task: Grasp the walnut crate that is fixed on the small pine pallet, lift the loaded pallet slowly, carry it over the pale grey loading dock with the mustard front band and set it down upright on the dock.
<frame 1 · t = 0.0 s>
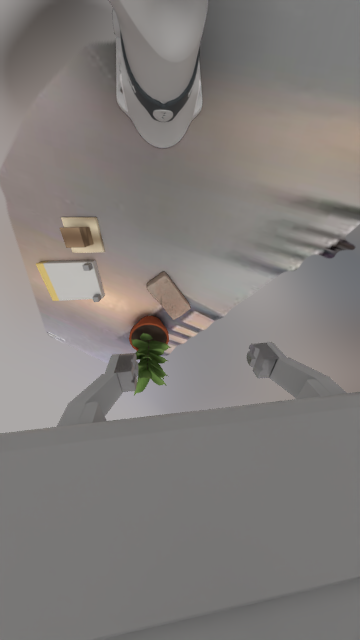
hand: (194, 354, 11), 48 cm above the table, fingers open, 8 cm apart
potted plant: (151, 326, 67), on the table
dock: (75, 279, 53), on the table
pallet: (85, 235, 47), on the table
brick: (168, 294, 60), on the table
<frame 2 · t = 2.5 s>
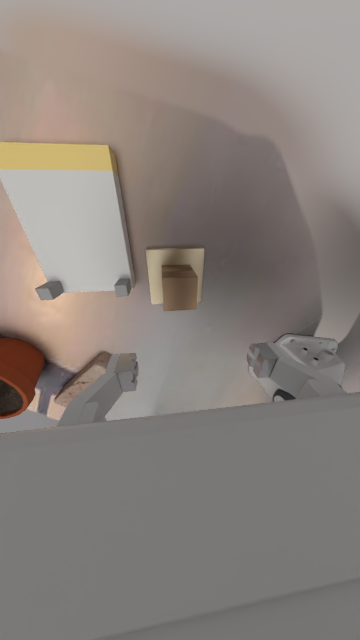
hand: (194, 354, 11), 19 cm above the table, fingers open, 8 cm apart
potted plant: (16, 357, 34), on the table
dock: (84, 231, 23), on the table
pallet: (175, 276, 28), on the table
brick: (97, 375, 39), on the table
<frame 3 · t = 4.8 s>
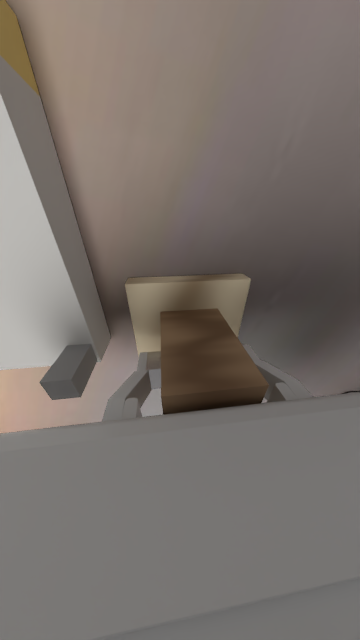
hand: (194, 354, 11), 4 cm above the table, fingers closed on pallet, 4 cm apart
pallet: (186, 323, 15), on the table, touching gripper
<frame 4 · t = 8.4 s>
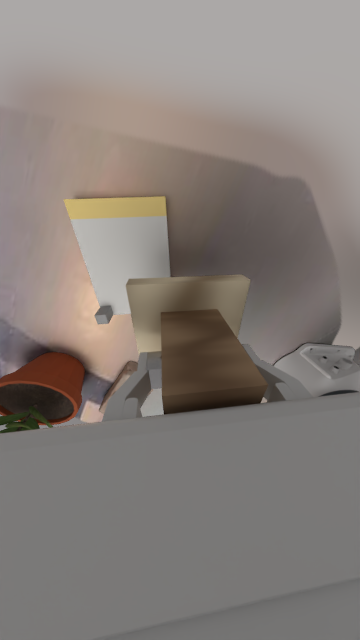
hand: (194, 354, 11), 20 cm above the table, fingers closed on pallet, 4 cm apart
potted plant: (60, 368, 37), on the table
dock: (132, 261, 26), on the table
pallet: (186, 324, 15), point 15 cm above the table, touching gripper
brick: (129, 383, 43), on the table
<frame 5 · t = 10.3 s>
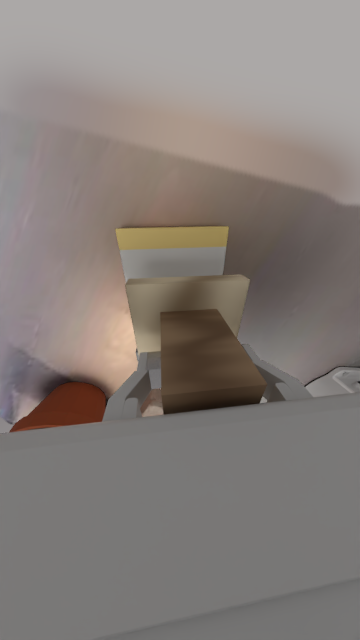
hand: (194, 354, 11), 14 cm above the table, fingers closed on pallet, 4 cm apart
potted plant: (79, 397, 34), on the table
dock: (174, 289, 23), on the table
pallet: (186, 324, 15), point 10 cm above the table, touching gripper
brick: (152, 409, 40), on the table
when the fingers open (9 cm above the table, at t = 11.9 s): pallet drops 1 cm, resting on dock.
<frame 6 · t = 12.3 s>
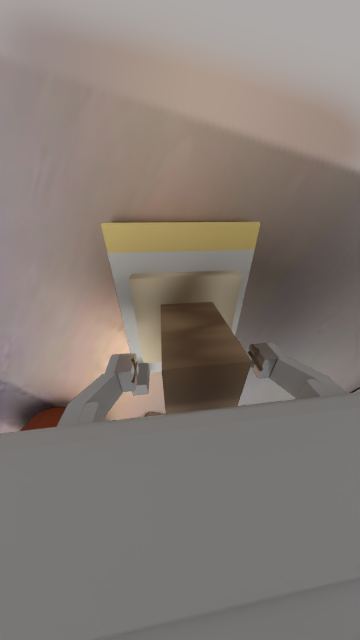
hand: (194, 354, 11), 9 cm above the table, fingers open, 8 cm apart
potted plant: (65, 422, 29), on the table
dock: (180, 302, 19), on the table
pallet: (184, 316, 16), point 3 cm above the table, touching dock
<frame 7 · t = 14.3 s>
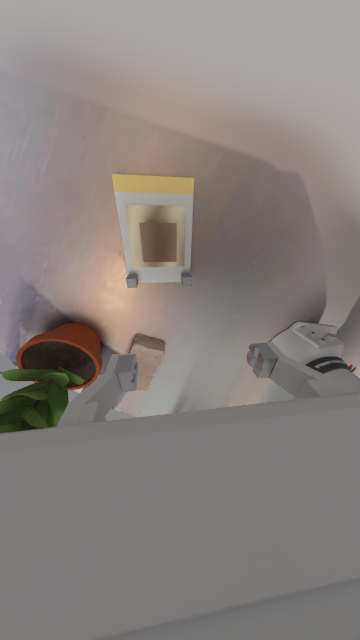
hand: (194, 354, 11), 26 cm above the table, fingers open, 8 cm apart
potted plant: (77, 340, 40), on the table
dock: (157, 236, 30), on the table
pallet: (157, 238, 28), point 3 cm above the table, touching dock
brick: (141, 357, 46), on the table
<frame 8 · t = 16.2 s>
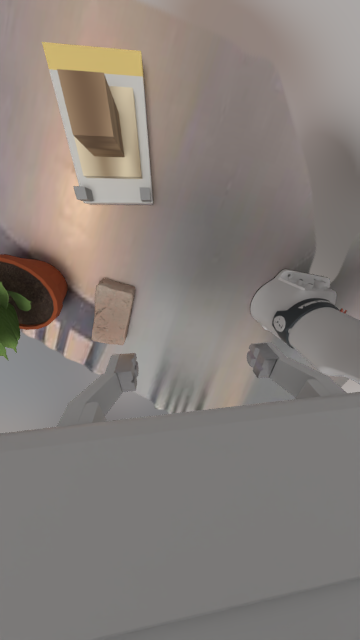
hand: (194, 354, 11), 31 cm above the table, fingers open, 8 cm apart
potted plant: (42, 283, 37), on the table
dock: (112, 146, 27), on the table
pallet: (108, 139, 24), point 3 cm above the table, touching dock
brick: (115, 309, 43), on the table
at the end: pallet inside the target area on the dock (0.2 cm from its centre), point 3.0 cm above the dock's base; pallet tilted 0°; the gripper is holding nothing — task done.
